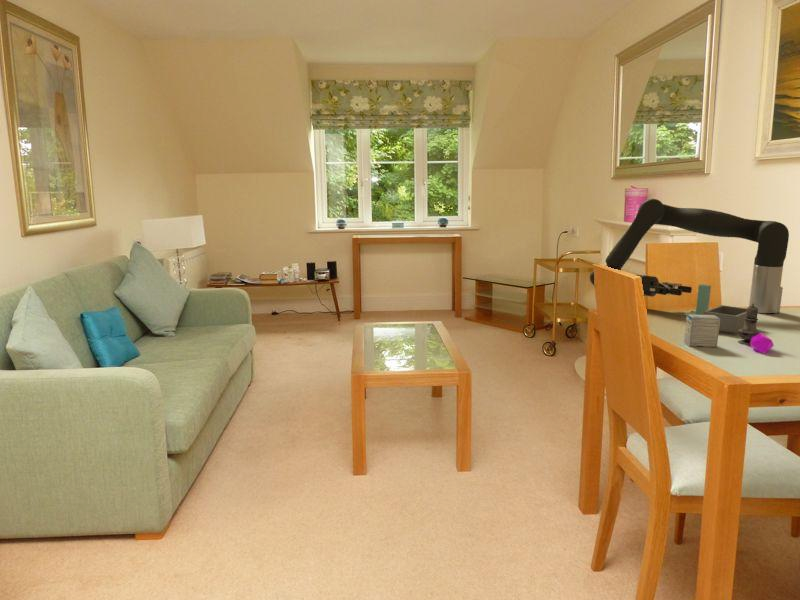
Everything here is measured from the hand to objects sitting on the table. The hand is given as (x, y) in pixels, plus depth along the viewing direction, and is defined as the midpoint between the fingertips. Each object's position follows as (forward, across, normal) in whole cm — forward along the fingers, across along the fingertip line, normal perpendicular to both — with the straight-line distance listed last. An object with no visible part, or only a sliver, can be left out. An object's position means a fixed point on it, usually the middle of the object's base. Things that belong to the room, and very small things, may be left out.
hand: (686, 291), depth 221 cm
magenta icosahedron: (+35, -34, +8) cm, 50 cm away
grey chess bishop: (+30, -28, +8) cm, 41 cm away
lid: (+6, +6, +9) cm, 12 cm away
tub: (+19, -12, +8) cm, 24 cm away
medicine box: (+21, -41, +9) cm, 47 cm away
